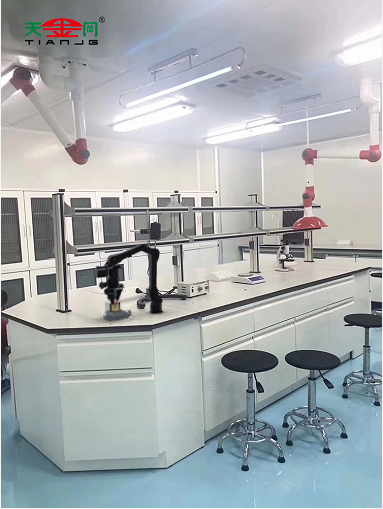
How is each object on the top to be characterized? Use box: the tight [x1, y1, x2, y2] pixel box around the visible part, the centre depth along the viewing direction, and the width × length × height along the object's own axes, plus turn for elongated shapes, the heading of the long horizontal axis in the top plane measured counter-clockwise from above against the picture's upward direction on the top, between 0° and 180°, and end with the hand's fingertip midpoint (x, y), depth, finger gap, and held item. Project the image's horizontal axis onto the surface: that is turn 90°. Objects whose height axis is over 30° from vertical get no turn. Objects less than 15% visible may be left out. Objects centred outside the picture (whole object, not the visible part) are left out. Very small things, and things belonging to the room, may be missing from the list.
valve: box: [112, 302, 119, 313], centre depth 238 cm, size 4×4×8 cm
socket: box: [102, 308, 132, 322], centre depth 240 cm, size 15×11×4 cm
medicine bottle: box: [104, 295, 121, 313], centre depth 252 cm, size 7×7×12 cm
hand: (114, 302), depth 238 cm, fingers open, 9 cm apart
